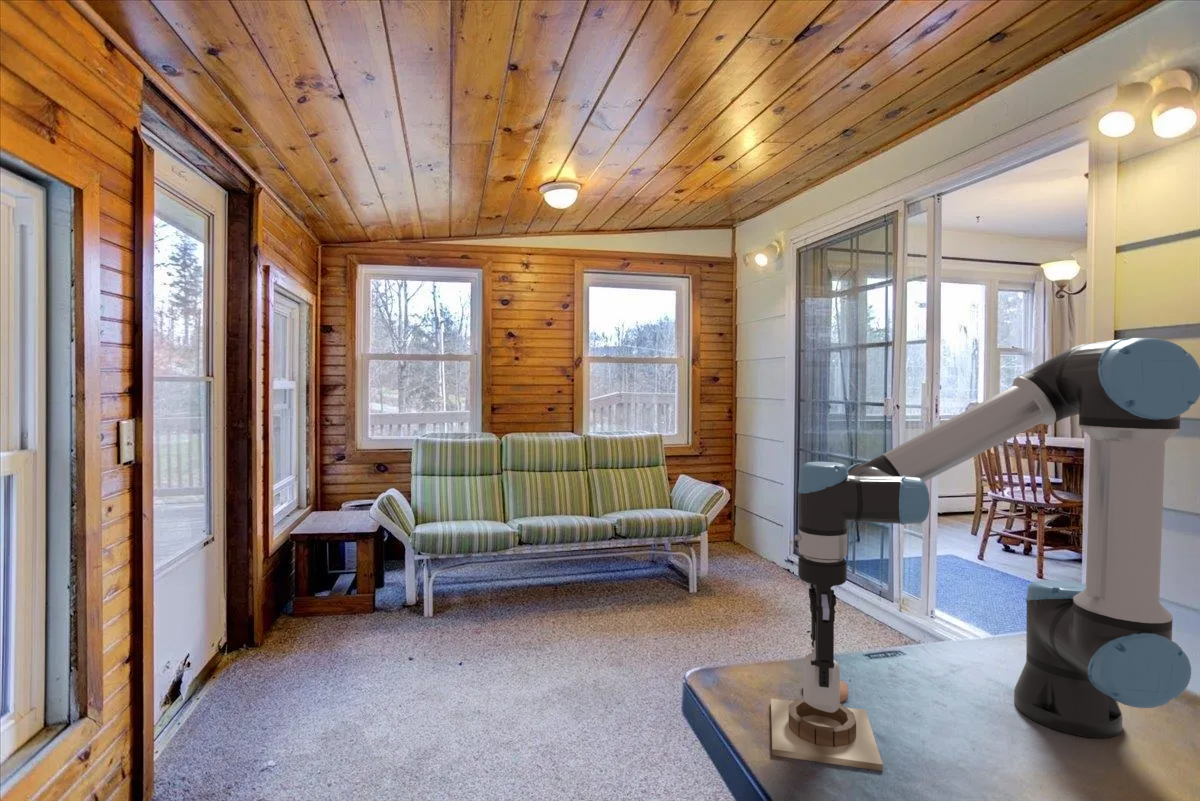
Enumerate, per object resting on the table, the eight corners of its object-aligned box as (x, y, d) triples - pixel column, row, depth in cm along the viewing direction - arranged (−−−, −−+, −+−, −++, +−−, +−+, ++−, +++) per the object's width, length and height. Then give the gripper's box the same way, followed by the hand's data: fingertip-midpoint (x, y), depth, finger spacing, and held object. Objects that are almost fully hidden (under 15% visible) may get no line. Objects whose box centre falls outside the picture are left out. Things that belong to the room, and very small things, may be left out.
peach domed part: (836, 681, 121) (836, 673, 121) (856, 703, 113) (856, 695, 113) (796, 683, 120) (796, 675, 120) (813, 705, 112) (813, 697, 112)
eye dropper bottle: (822, 695, 106) (822, 626, 105) (843, 712, 100) (843, 639, 100) (799, 699, 105) (800, 629, 104) (819, 716, 99) (820, 642, 99)
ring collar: (865, 715, 108) (865, 695, 108) (882, 770, 93) (882, 748, 93) (770, 704, 112) (771, 685, 112) (772, 755, 97) (772, 733, 97)
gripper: (795, 541, 111) (795, 669, 112) (801, 570, 94) (801, 720, 95) (840, 544, 109) (839, 674, 110) (854, 573, 92) (853, 727, 93)
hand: (821, 695), depth 102 cm, fingers closed on eye dropper bottle, 4 cm apart
